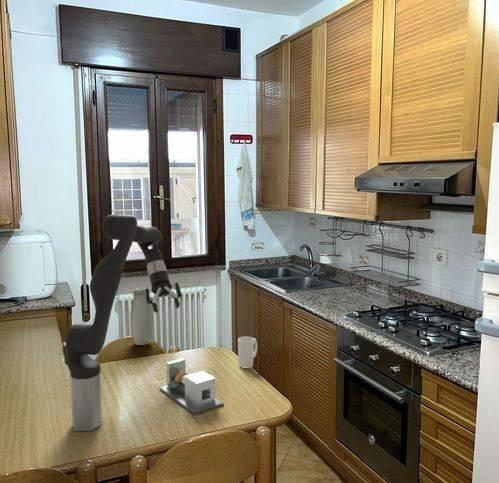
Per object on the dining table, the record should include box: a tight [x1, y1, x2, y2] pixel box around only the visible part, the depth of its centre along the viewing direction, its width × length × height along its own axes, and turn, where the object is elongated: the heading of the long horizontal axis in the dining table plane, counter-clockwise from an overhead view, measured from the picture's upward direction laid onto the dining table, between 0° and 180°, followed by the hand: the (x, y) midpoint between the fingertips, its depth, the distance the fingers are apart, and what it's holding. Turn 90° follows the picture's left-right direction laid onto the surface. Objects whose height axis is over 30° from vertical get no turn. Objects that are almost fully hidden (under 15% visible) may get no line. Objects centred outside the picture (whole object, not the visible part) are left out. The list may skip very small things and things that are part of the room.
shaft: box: [166, 358, 188, 387], centre depth 178 cm, size 15×7×9 cm, turn 38°
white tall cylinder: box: [129, 287, 153, 346], centre depth 228 cm, size 10×10×28 cm
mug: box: [237, 336, 258, 369], centre depth 205 cm, size 10×7×12 cm, turn 132°
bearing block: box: [159, 370, 225, 416], centre depth 175 cm, size 25×12×10 cm, turn 38°
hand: (167, 310), depth 193 cm, fingers open, 8 cm apart
